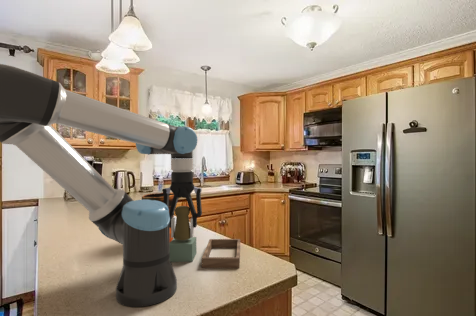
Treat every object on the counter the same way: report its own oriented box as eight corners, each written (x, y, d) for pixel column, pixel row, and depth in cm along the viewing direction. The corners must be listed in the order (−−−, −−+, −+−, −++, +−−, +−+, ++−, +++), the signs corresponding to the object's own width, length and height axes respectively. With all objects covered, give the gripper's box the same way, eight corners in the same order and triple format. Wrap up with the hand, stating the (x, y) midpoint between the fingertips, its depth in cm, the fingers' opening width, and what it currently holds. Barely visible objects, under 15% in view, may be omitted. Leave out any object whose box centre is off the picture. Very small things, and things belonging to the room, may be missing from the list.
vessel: (170, 247, 104) (168, 196, 105) (136, 247, 107) (134, 197, 107) (183, 237, 119) (182, 191, 119) (153, 236, 121) (151, 192, 121)
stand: (192, 261, 91) (192, 244, 91) (168, 261, 91) (168, 244, 91) (196, 253, 99) (196, 236, 99) (174, 253, 99) (174, 237, 99)
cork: (170, 237, 94) (170, 206, 94) (183, 234, 99) (183, 204, 99) (181, 241, 90) (181, 208, 90) (195, 236, 95) (194, 205, 95)
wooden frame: (239, 267, 85) (239, 258, 85) (201, 267, 86) (201, 258, 85) (240, 246, 105) (240, 239, 105) (209, 246, 106) (209, 239, 105)
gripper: (210, 170, 98) (211, 233, 98) (158, 170, 98) (159, 233, 99) (207, 171, 91) (208, 239, 91) (151, 171, 91) (152, 240, 91)
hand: (182, 236), depth 95 cm, fingers closed on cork, 6 cm apart
